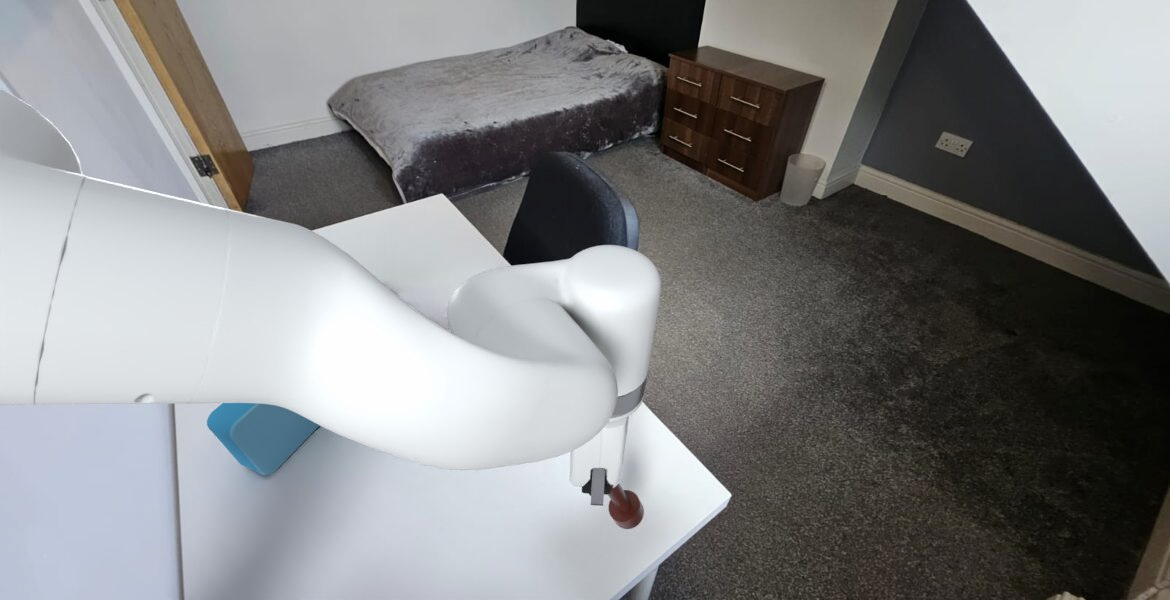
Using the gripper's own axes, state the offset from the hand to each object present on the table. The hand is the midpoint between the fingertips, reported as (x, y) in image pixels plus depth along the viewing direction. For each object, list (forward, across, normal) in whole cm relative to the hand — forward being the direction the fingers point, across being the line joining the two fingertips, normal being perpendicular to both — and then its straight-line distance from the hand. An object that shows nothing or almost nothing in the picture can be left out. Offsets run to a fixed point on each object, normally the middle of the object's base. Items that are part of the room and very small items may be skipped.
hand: (596, 480), depth 54 cm
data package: (+13, -10, -46) cm, 49 cm away
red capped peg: (+8, 0, +4) cm, 9 cm away
